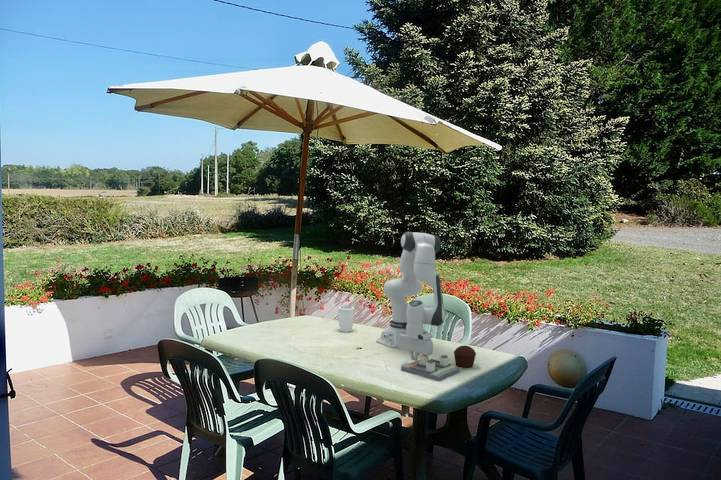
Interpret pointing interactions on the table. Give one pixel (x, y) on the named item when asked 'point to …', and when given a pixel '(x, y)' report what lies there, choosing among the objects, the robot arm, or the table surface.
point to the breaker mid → (423, 359)
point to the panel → (436, 375)
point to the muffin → (464, 356)
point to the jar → (346, 318)
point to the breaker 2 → (444, 360)
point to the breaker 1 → (430, 366)
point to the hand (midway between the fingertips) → (414, 359)
